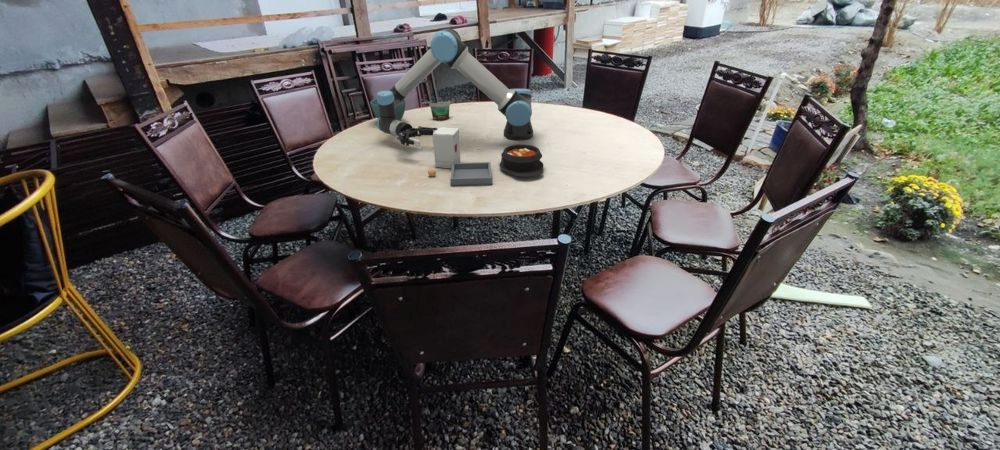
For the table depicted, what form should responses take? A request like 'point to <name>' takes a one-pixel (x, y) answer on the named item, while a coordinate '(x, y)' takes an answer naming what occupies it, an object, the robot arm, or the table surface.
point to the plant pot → (399, 109)
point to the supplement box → (446, 147)
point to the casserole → (522, 160)
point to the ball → (431, 172)
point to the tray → (471, 174)
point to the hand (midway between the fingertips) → (431, 140)
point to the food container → (440, 110)
